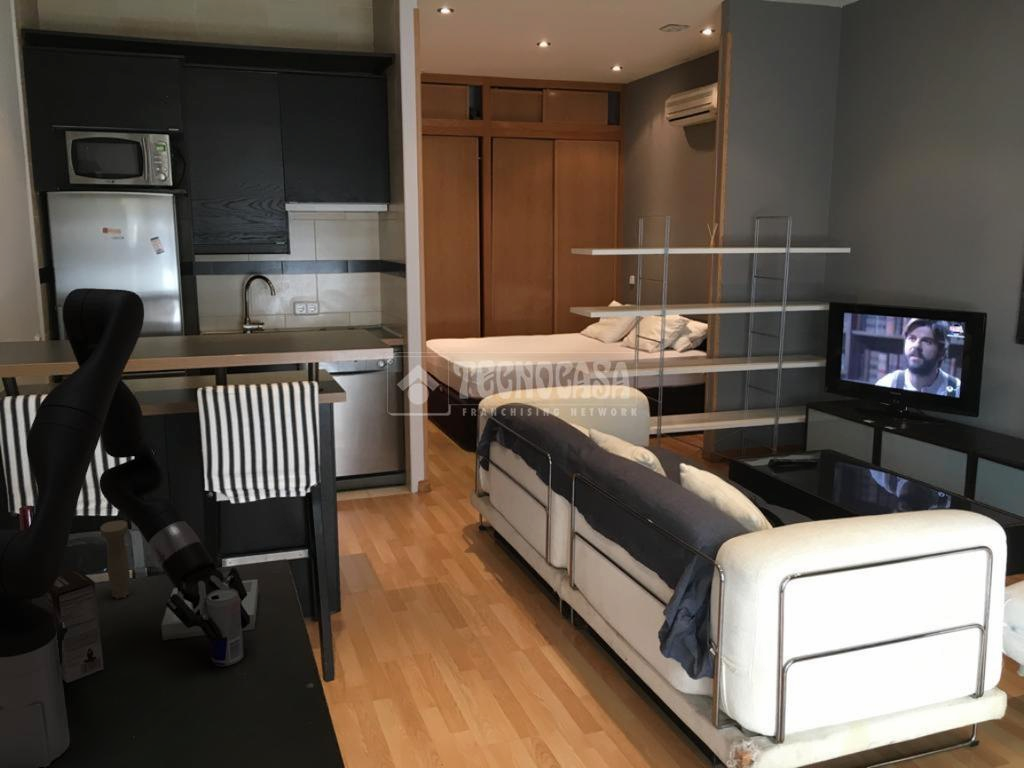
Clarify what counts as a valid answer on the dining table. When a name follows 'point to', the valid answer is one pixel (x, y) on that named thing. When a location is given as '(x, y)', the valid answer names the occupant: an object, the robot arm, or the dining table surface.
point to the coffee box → (77, 624)
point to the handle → (117, 557)
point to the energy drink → (226, 626)
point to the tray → (177, 629)
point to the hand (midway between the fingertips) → (232, 632)
